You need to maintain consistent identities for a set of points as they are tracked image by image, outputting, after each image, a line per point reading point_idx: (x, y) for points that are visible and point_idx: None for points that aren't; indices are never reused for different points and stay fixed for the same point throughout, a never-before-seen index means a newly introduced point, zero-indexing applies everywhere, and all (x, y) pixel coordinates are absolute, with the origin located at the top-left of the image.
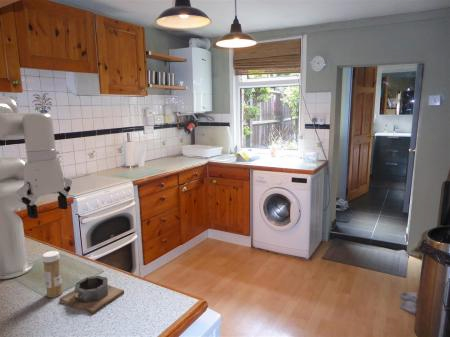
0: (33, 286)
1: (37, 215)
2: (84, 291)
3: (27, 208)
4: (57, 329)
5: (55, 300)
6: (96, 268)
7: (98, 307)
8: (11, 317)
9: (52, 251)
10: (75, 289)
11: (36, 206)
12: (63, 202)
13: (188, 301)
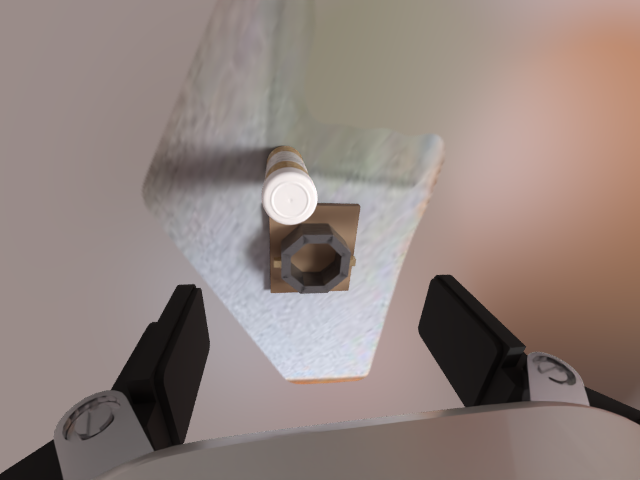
0: (284, 65)
1: (205, 358)
2: (284, 277)
3: (123, 378)
4: (208, 272)
5: None
6: (422, 155)
7: (284, 292)
8: (170, 158)
9: (305, 191)
10: (281, 256)
11: (186, 431)
12: (445, 363)
13: (361, 368)
